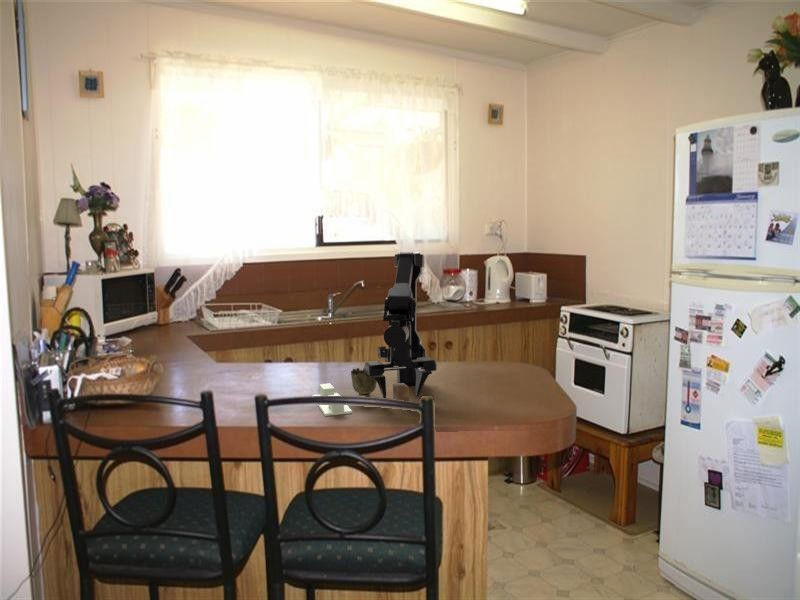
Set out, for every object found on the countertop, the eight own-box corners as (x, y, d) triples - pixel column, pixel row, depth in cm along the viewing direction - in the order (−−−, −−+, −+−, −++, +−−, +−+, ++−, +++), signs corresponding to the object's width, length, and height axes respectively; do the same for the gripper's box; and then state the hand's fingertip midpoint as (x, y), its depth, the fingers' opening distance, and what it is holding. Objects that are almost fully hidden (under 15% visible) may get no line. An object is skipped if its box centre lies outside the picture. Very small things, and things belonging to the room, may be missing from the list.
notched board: (337, 394, 179) (336, 382, 179) (352, 413, 162) (351, 399, 162) (312, 397, 177) (312, 384, 177) (325, 416, 160) (324, 402, 160)
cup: (354, 403, 171) (353, 374, 170) (349, 395, 178) (348, 368, 177) (381, 400, 173) (380, 372, 172) (374, 393, 180) (374, 366, 179)
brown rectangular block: (403, 400, 173) (403, 382, 173) (408, 405, 169) (408, 387, 168) (393, 401, 172) (392, 383, 172) (398, 406, 168) (397, 388, 167)
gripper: (423, 333, 179) (423, 386, 181) (358, 337, 173) (359, 393, 175) (437, 340, 168) (437, 397, 170) (369, 345, 163) (370, 404, 165)
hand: (400, 397), depth 170 cm, fingers open, 9 cm apart
